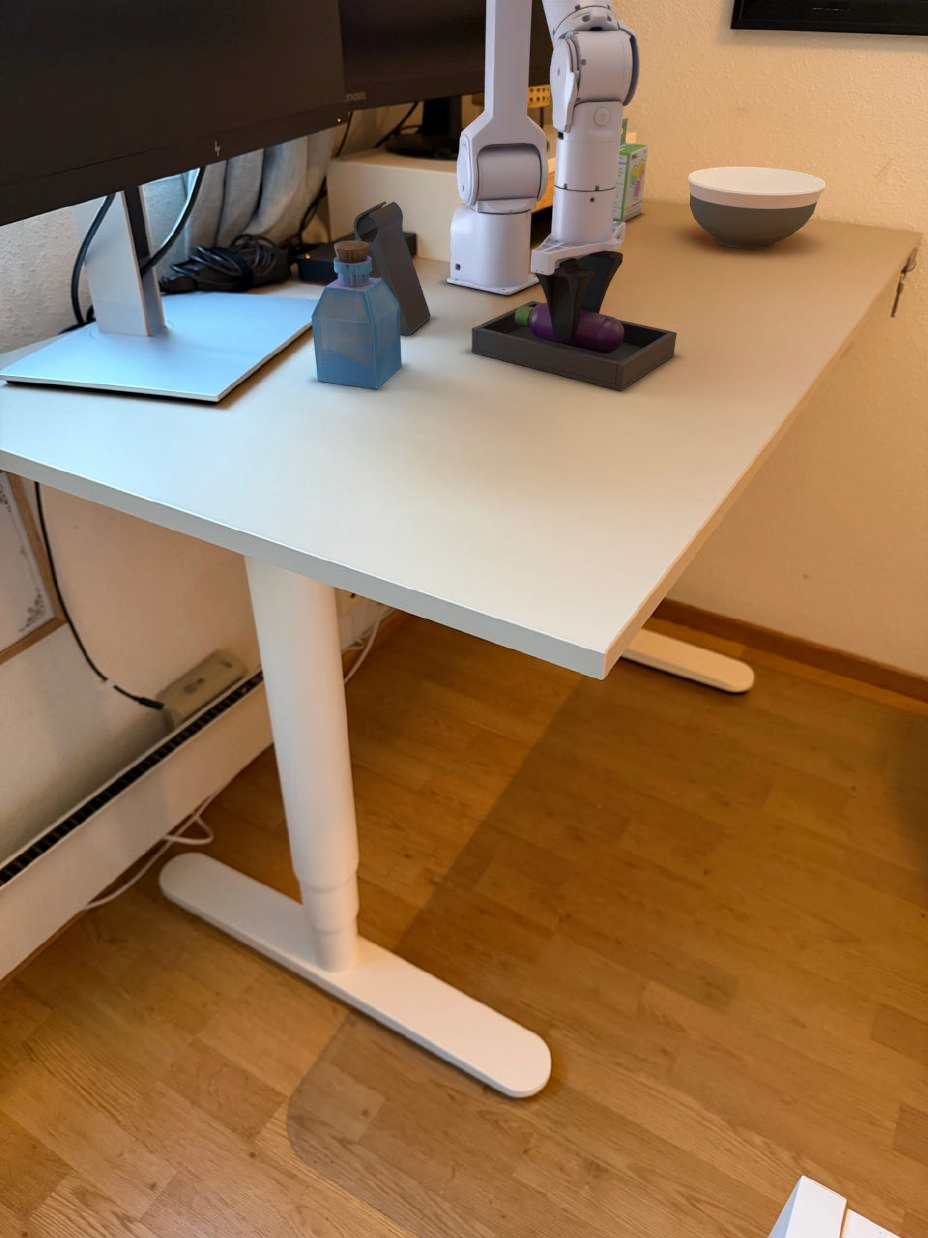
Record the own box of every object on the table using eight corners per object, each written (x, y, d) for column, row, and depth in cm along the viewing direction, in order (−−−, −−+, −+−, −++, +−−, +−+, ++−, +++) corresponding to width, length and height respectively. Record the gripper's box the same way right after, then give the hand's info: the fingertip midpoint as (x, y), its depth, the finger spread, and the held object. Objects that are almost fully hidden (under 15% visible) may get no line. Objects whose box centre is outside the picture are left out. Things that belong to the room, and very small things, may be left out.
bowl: (830, 258, 121) (845, 192, 116) (692, 257, 122) (702, 192, 117) (791, 225, 136) (803, 166, 132) (669, 224, 137) (676, 165, 132)
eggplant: (509, 336, 93) (510, 301, 91) (528, 327, 96) (530, 293, 94) (611, 361, 88) (615, 325, 86) (628, 351, 90) (632, 315, 88)
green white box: (624, 223, 137) (634, 124, 129) (600, 220, 139) (609, 122, 131) (641, 214, 142) (652, 118, 134) (618, 211, 144) (627, 116, 136)
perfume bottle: (401, 366, 89) (396, 239, 82) (376, 389, 84) (369, 256, 77) (345, 358, 91) (335, 233, 84) (317, 380, 86) (304, 250, 79)
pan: (471, 352, 92) (471, 328, 91) (530, 323, 100) (531, 300, 98) (621, 391, 84) (623, 365, 83) (673, 356, 92) (677, 332, 90)
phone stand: (431, 319, 101) (429, 204, 94) (410, 335, 96) (406, 216, 89) (359, 310, 103) (351, 197, 96) (335, 326, 99) (325, 209, 92)
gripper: (583, 204, 76) (571, 360, 84) (659, 177, 85) (642, 320, 93) (514, 194, 79) (509, 345, 87) (594, 169, 89) (583, 307, 97)
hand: (573, 331), depth 91 cm, fingers closed on eggplant, 3 cm apart
